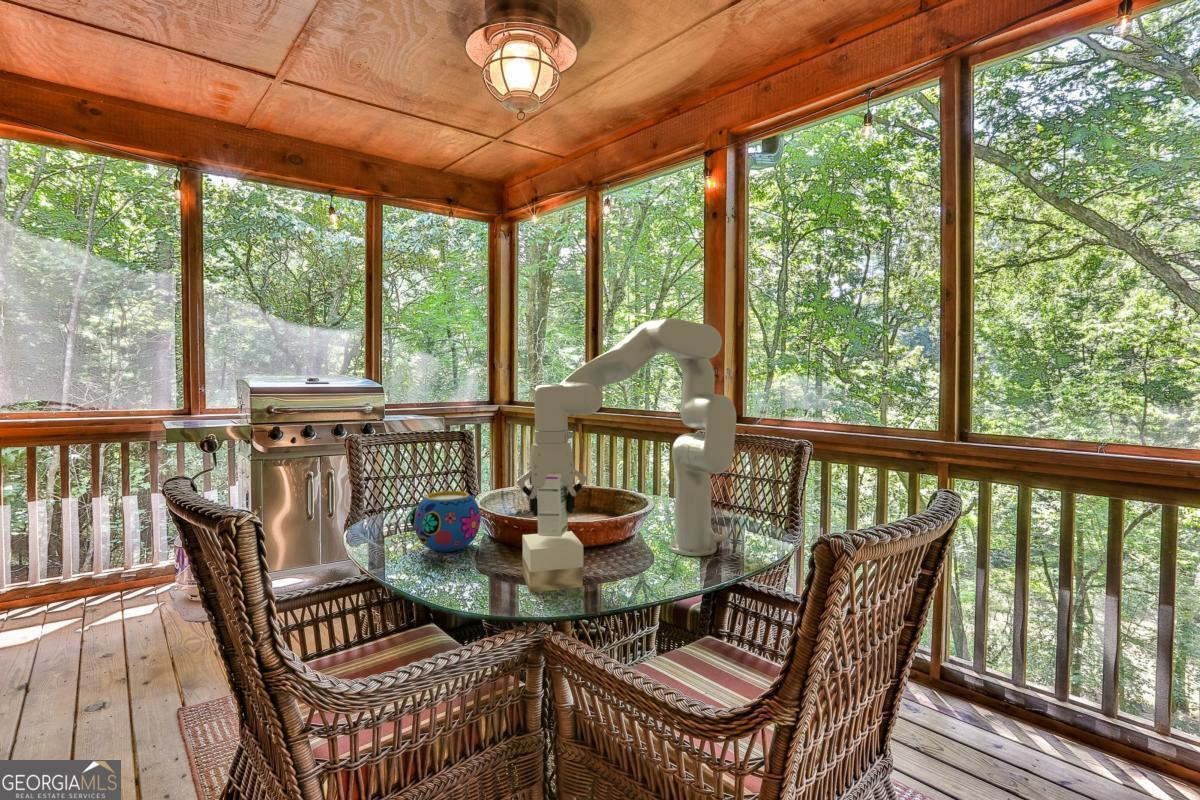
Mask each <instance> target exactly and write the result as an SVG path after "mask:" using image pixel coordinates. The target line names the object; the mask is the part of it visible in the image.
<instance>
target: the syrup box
mask: <svg viewBox="0 0 1200 800" xmlns="http://www.w3.org/2000/svg"><path fill="white" fill-rule="evenodd" d="M567 494H568V490H567V488H566V487H563V484H562V475H561V473H548V475H547V476H546V480H545V484H544V487H541V488H537V494H536V498H537V516H536V517H537V534H538V535H540V536H553V537H561V536H562V535H563V534H564V533H565V532H566V531H569V527H568V526H569V524H568V522H569V521H568V511H567Z"/></svg>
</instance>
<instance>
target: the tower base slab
mask: <svg viewBox="0 0 1200 800" xmlns="http://www.w3.org/2000/svg"><path fill="white" fill-rule="evenodd" d="M521 559H522V560H521V561H522V562H521V563H522V577H523V579H524V581H525V583H526V586H527V590H528V592H529V593H536V592H537V593H538V592H539V593H540V592H548V591H559V590H569V589H578V587H579V588H584V586H583V585H584V583H583V582H584V581H583V580H584V579H583V578H584V577H583V576H584V574H583V573H584V571H583V569H584V566H583V567H578V568H568V569H558V570H548V571H537V572H530V570H529V568H528V566H527V564H526V562H525V559H524V557H523V554H522V557H521Z"/></svg>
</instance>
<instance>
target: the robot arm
mask: <svg viewBox="0 0 1200 800" xmlns="http://www.w3.org/2000/svg"><path fill="white" fill-rule="evenodd" d="M722 345H723V339H722V336H721V334H720V332H719V331H718V329H716V328H715V327H714V326H712V325H710V324H705V323H701V322H694V321H690V320H684V319H680V318H674V317H663V318H655V319H649V320H645V321H644V322H641V323H640V324H639V325H638V326H637V327H636V328H634V329H633V330H631V332H629V333H628V334H627V335H626V336H625V337H624V338H623V339H621V340H620V341H619V342H618V343H616V344H615V345H614V346H613V347H612V348H610V349H609V350H607V351H605V352H604V353H602V354H599V355H598V356H596V357H595V358H593V359H592V360H590V361H588V362H586V363H585V364H583V365H582V366H580V367H578V368H577V369H575V370H574V371H572V372H571V374H569V375H568V376H567V377H565V378H564V379H563V380H562V381H561V382H560V383H559V384H557V383H554V384H553V383H552V384H551V383H550V384H548V383H545V384H539V385H537V386H535V389H534V441H535V442H534V443H531V445H530V453H529V465H528V466H529V467H528V470H527V471H526V472H525V473H524V474H522V475H521V476H520V477H519V478H517V480H515V483H516V484H517V485H518V487H519V488H520V490H521V491H522V493H525V495H526V496H527V497H529V512H531V513H532V515H533V517H537V488H541V487H544V484H545V480H546V476H547V475H548V473H561V475H562V484H563V487H566V488H567V513H569V514H573V513H574V512H573V510H574V509H575V503H576V502H575V501H576V500H575V499H576V498H575V497H576V496H577V494H578V492H579V491H580V490H581V489H582V487H583V485H585V483H586V481H587V479H588V477H587V476H586V475H584V474H583V473H581V472H580V471H579V470H577V469H576V468H575V463H574V456H573V455H574V454H573V449H572V444H571V442H569V440H570V439H572V438H574V437H575V431H574V432H573V431H570V430H569V426H568V423H569V422H568V420H569V419H568V417H569V416H568V415H580V416H588V415H589V416H590V415H592V414H594V413H596V412H598V411H599V410H600V409H601V407H602V404H603V401H604V400H603V393H602V391H601V390H600V389H602V388H604V387H607V386H608V385H611V384H616V383H619V382H623V381H625V380H628V379H629V378H631V377H634V375H635V374H636V373H638V372H639V371H640V370H641V369H642V368H643V367H644V366H646V364H647V363H649V362H650V361H651V360H653V358H654V357H656V356H658V355H659V354H662V353H663V354H664V353H666V354H667V353H669V354H670V356H671V357H672V358H673V359H674V360H675V361H676V363H677V365H679V367H680V370H681V374H682V375H681V376H682V386H681V387H682V388H681V400H680V420H681V421H682V423H683V424H684V425H685V426H686V427H688V428H693V429H697V430H698V429H699V430H704V434H702V433H695V432H688V433H683V434H681V435H679V436H678V437H677V438H676V439H675V440H674V442H673V444H672V448H671V456H672V457H671V458H672V462H673V463H672V464H673V468H674V479H675V492H674V493H675V506H674V507H675V512H674V513H675V519H674V520H675V522H674V523H675V524H674V525H675V527H674V528H675V529H674V532H675V535H674V536H675V538H674V539H675V540H672V541H671V542H670V543H669V550H670V551H671V552H673V553H675V554H678V555H681V556H687V557H705V556H710V555H714V554H715V553H716V552H717V545H716V544H717V543H718V542H728V535H727V533H723V534H719V532H716V533H715V532H714V533H713V532H712V482H711V478H710V474H714V475H717V474H723V473H725V472H726V471H727V470H728V469H729V467H730V466H731V465H732V461H733V458H734V451H735V440H736V428H737V411H736V407H735V405H734V403H733V401H732V400H731V399H730V398H729V397H728V396H726V395H724V394H719V393H715V380H716V379H715V378H716V376H715V371H714V366H713V365H712V362H711V360H710V359H712V358H714V357H716V355H718V354H719V352H720V351H721V348H722ZM575 477H577V478H578V480H577V482H576V483H575ZM526 481H529V484H530V485H531V486H530V489H529V488H528V487H527V486H526ZM574 483H575V484H574Z"/></svg>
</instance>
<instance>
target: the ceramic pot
mask: <svg viewBox="0 0 1200 800" xmlns="http://www.w3.org/2000/svg"><path fill="white" fill-rule="evenodd" d="M481 517H482V515H481V512H480V507H479V505H478V503H477V501H476V499H475V498H474V497H473V496H472V494H470V493H468V492H465V491H460V490H445V491H444V490H443V491H436V492H432V493H429V494H427V495H426V496H424V497H423V499H421V501H420V503H418V505H416V506H415V507H413V508H412V509H411V511H410V512H409V517H408V518H409V519H408V520H409V523H410V525H411V526H412V528H414V530H415V533H416V535H417V538H418V539H419V541H420V542H421V544H422V545H423V546H425V547H427V548H428V549H431V550H433V551H436V552H441V553H443V552H445V553H448V552H455V551H458V550H461V549H463V548H465V547H467V546H469V545H470V544H471V543H473V541H474V540H475V539H476V537H477V534H478V532H479V529H480V526H481V521H482V520H481V519H482V518H481Z"/></svg>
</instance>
